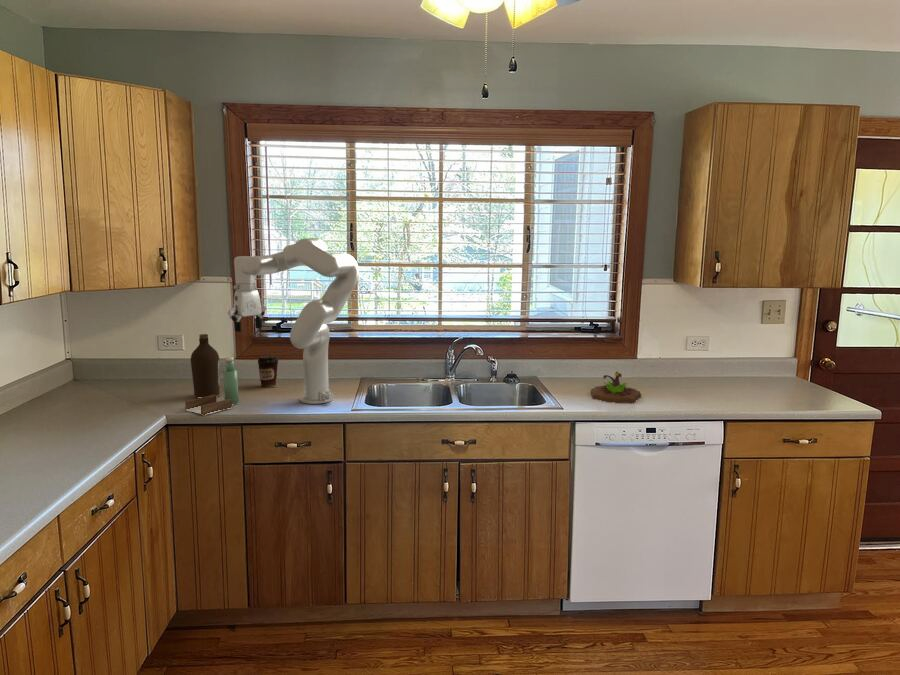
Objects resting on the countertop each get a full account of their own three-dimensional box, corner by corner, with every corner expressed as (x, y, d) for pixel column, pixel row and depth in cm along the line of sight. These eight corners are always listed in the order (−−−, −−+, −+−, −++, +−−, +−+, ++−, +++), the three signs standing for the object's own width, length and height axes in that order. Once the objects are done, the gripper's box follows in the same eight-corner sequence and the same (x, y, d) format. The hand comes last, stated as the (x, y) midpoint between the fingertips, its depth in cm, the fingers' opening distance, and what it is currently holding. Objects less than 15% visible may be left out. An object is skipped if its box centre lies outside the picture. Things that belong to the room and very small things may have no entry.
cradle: (232, 408, 240) (231, 399, 239) (203, 416, 230) (203, 406, 229) (214, 403, 246) (213, 394, 245) (185, 410, 236) (185, 401, 236)
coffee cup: (275, 389, 268) (274, 358, 266) (256, 388, 269) (254, 358, 266) (281, 384, 277) (280, 354, 275) (262, 383, 277) (261, 354, 275)
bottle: (241, 403, 247) (239, 357, 244) (230, 406, 243) (228, 359, 240) (233, 401, 250) (231, 356, 246) (222, 404, 246) (219, 358, 242)
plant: (587, 401, 255) (588, 373, 254) (592, 389, 274) (594, 364, 272) (639, 406, 249) (641, 378, 247) (641, 393, 267) (643, 367, 266)
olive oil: (198, 401, 249) (194, 338, 245) (189, 395, 257) (185, 334, 253) (225, 396, 256) (221, 335, 251) (215, 391, 264) (212, 331, 260)
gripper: (232, 289, 246) (235, 333, 249) (269, 286, 260) (272, 327, 263) (221, 288, 251) (224, 332, 253) (258, 285, 264) (260, 326, 267)
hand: (248, 329), depth 258 cm, fingers open, 9 cm apart
